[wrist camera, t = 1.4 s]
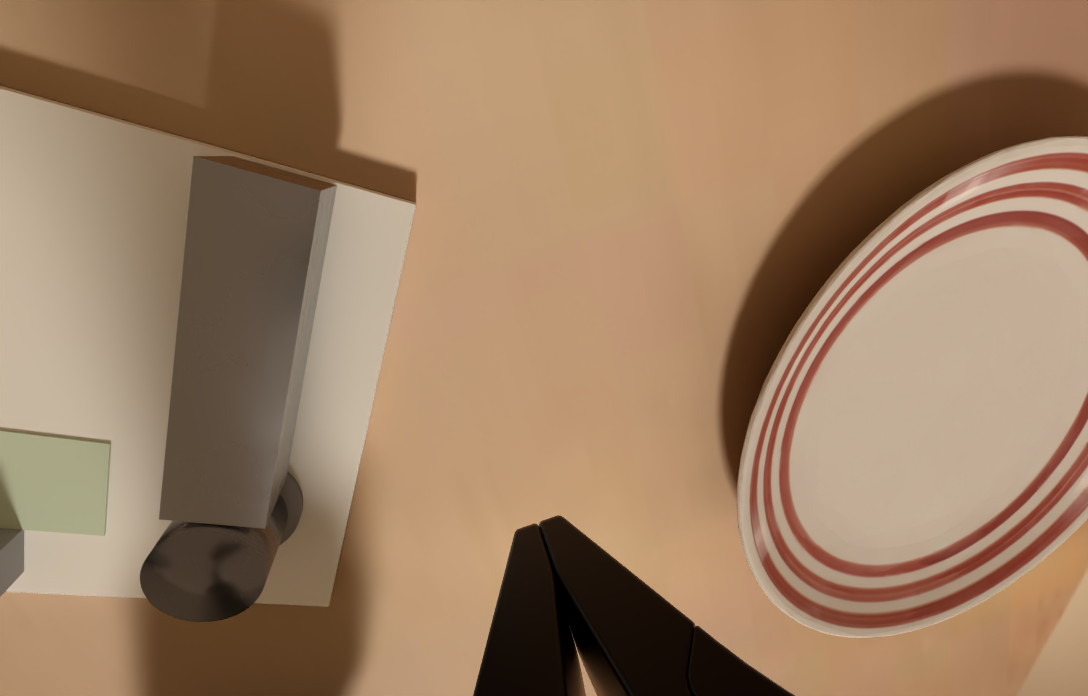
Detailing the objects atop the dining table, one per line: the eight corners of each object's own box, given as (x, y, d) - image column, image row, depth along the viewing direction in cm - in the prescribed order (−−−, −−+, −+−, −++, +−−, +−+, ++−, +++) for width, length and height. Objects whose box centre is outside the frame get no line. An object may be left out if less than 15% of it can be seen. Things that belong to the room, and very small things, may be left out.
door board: (332, 589, 24) (316, 667, 20) (-276, 555, 18) (-456, 658, 14) (415, 202, 19) (415, 213, 15) (-385, -23, 13) (-702, -94, 9)
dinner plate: (1210, 123, 26) (1313, 119, 23) (1050, 548, 36) (1108, 584, 33) (721, 156, 21) (772, 156, 18) (690, 640, 31) (720, 693, 28)
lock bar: (281, 557, 21) (258, 624, 18) (178, 550, 20) (135, 619, 17) (347, 187, 17) (331, 194, 14) (221, 153, 16) (176, 152, 13)
